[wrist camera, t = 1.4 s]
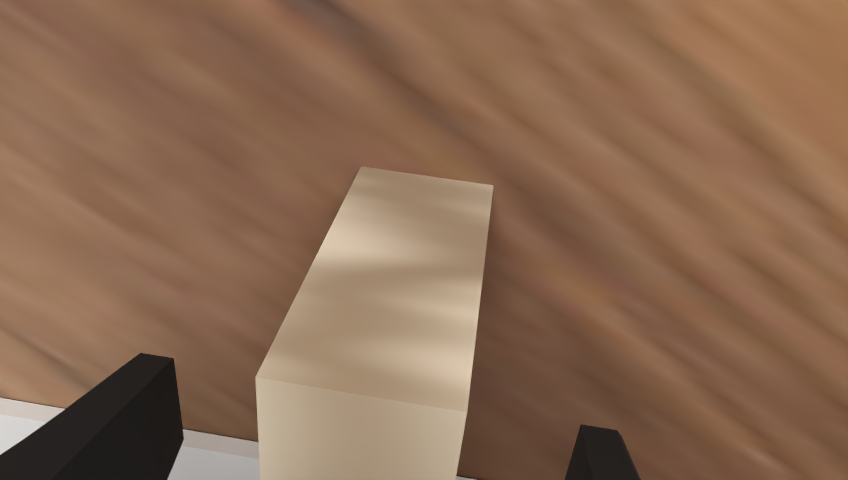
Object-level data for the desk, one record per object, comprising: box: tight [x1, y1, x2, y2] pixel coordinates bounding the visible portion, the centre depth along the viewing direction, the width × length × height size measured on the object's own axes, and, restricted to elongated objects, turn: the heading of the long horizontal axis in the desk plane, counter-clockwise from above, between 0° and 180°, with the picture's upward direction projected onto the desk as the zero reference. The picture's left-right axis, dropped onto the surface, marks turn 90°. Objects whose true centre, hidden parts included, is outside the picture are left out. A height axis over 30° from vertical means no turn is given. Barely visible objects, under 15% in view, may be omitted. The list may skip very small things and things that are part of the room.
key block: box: [256, 167, 493, 480], centre depth 14 cm, size 3×5×7 cm, turn 175°
